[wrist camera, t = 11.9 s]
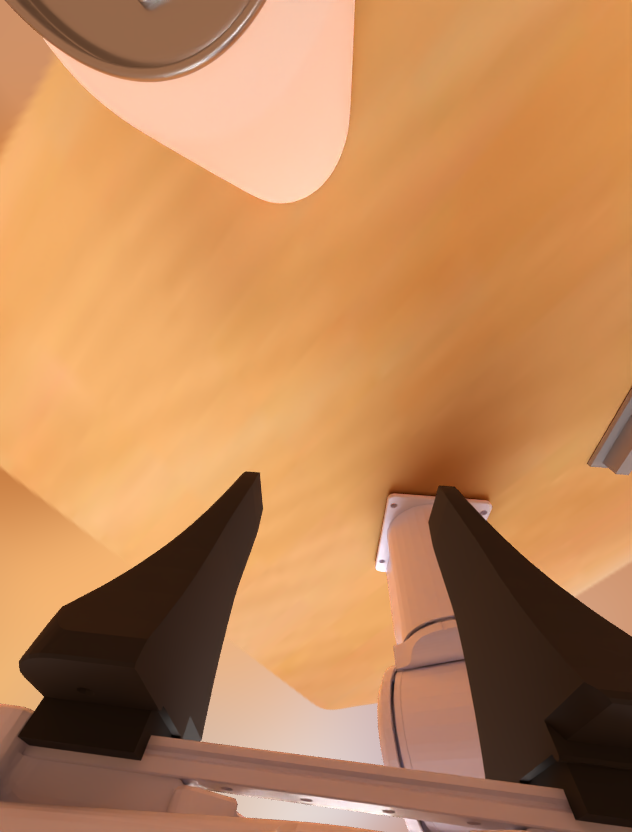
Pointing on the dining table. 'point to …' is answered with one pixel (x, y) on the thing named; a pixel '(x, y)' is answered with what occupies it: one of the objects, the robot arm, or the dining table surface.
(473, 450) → the dining table surface
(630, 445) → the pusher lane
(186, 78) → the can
